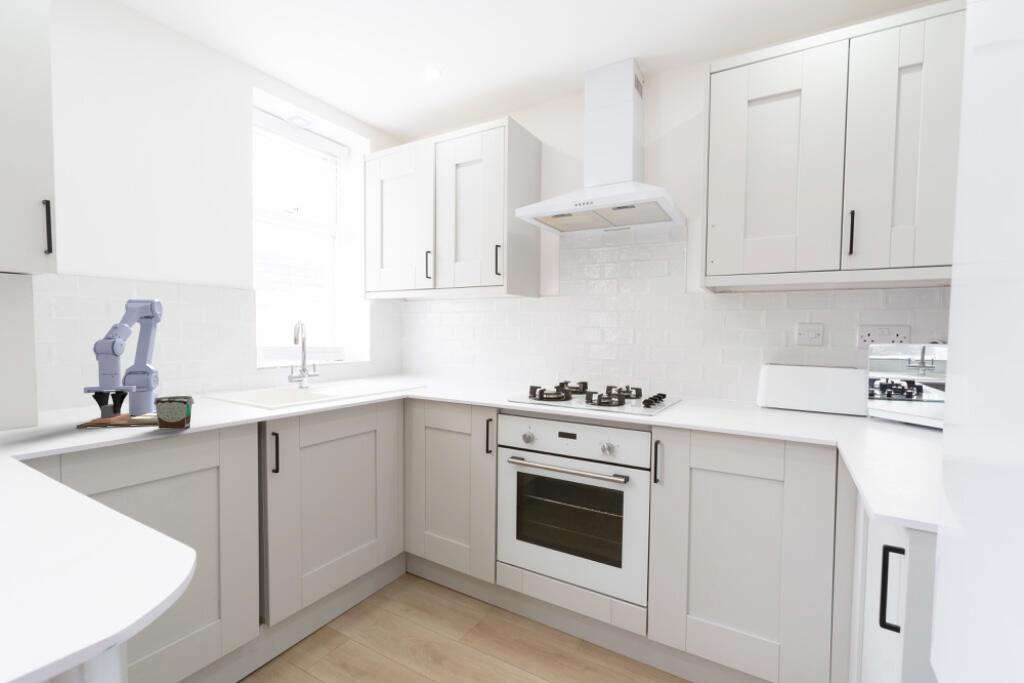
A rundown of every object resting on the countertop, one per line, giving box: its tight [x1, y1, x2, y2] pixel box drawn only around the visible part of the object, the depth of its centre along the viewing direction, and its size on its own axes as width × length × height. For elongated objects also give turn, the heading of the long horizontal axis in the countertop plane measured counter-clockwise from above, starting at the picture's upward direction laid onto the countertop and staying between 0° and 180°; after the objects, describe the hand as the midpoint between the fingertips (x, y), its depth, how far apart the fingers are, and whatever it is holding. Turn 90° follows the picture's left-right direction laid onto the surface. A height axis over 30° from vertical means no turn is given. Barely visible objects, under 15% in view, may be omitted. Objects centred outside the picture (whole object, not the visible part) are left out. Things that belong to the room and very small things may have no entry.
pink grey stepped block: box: [91, 403, 130, 423], centre depth 158 cm, size 10×6×5 cm, turn 11°
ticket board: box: [76, 412, 158, 429], centre depth 159 cm, size 14×25×2 cm, turn 101°
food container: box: [154, 395, 195, 430], centre depth 152 cm, size 12×6×10 cm, turn 84°
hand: (110, 413), depth 158 cm, fingers closed on pink grey stepped block, 3 cm apart
